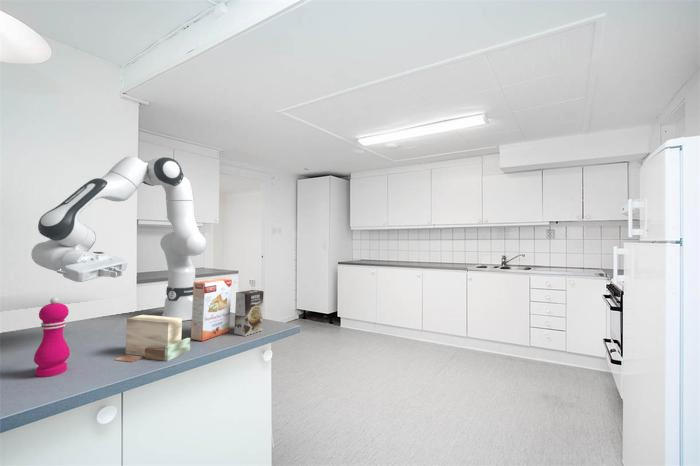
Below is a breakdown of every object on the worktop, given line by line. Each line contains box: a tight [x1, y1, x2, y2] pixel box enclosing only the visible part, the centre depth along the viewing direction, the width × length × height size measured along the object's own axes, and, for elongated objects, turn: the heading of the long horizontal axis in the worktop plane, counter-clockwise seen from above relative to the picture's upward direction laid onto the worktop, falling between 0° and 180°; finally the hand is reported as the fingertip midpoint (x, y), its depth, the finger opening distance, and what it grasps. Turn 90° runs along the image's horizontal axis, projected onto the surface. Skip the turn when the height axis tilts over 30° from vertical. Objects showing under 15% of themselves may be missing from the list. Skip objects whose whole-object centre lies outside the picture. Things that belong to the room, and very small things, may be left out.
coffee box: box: [233, 289, 265, 337], centre depth 131 cm, size 9×6×16 cm
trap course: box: [114, 337, 191, 363], centre depth 107 cm, size 17×21×4 cm
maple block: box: [125, 314, 183, 357], centre depth 106 cm, size 6×15×11 cm, turn 78°
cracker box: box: [190, 278, 233, 342], centre depth 126 cm, size 14×6×21 cm, turn 158°
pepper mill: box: [33, 297, 71, 378], centre depth 90 cm, size 7×7×20 cm
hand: (119, 274), depth 113 cm, fingers closed
